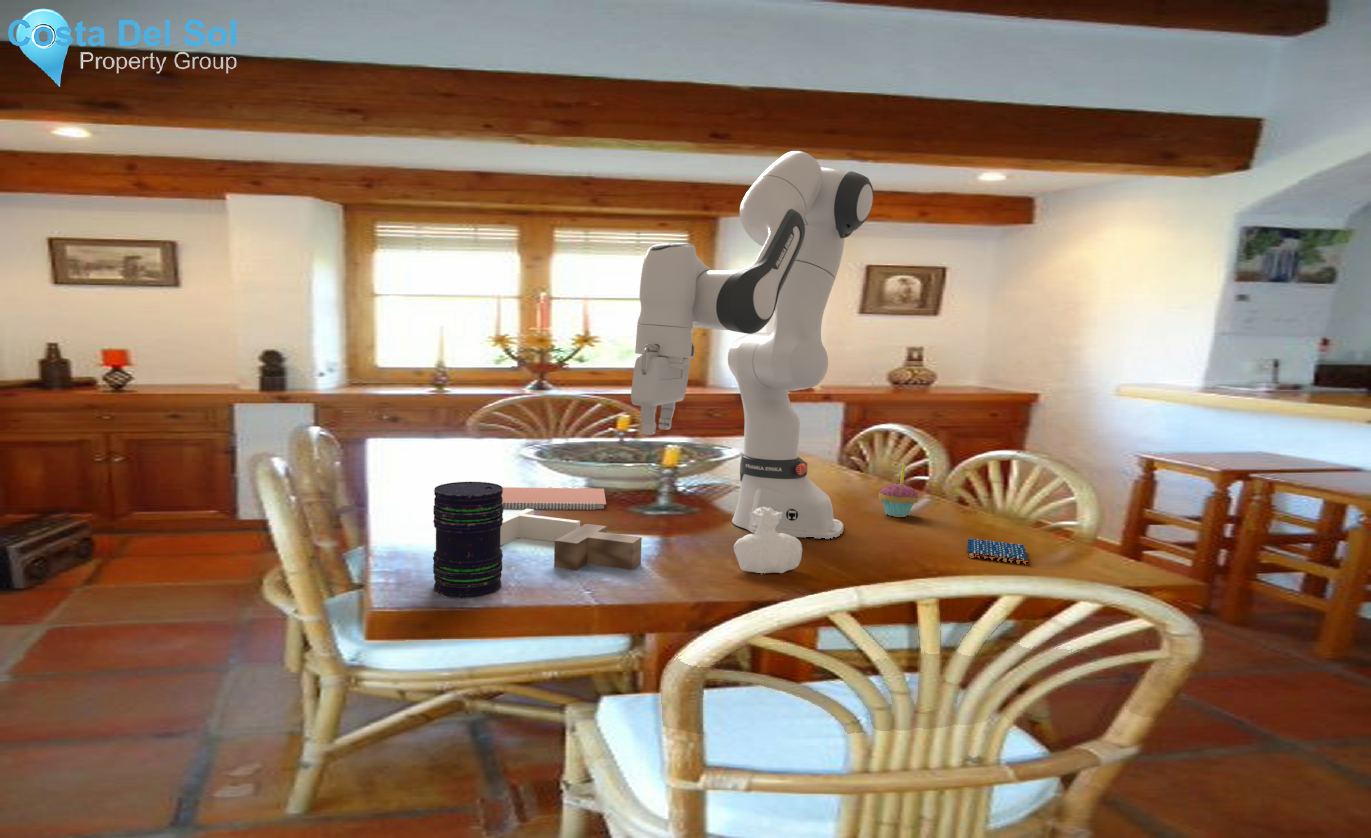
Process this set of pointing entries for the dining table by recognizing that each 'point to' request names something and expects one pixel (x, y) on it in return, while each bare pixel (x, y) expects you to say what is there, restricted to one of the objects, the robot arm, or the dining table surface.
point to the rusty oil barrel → (467, 539)
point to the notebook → (553, 498)
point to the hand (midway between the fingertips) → (656, 431)
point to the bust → (767, 546)
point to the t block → (597, 549)
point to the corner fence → (535, 527)
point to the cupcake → (898, 497)
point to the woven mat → (996, 549)
